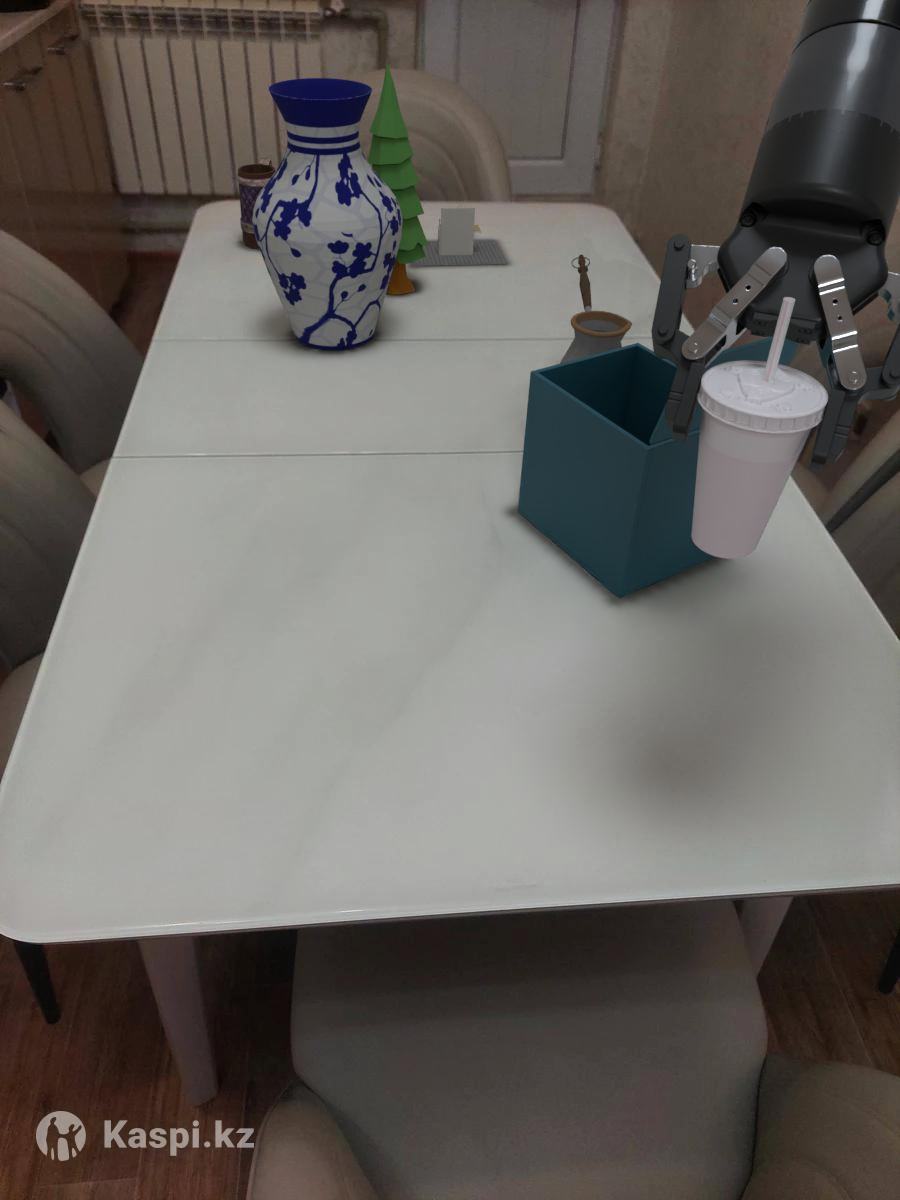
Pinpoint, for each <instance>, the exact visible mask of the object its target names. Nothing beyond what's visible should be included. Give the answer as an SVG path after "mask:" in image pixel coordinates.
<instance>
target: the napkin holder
mask: <svg viewBox="0 0 900 1200" xmlns="http://www.w3.org/2000/svg"><path fill="white" fill-rule="evenodd" d="M440 209H441V210H440V219H438V228H437V241H436V242H437V253H438V254H439V255H440V256H450V255H453V256H455V255H473V254H474V243H475V241H476V240H475V234H482V230H481V228H480V226H479V224H475V220H476V219H475V217H476V207H462V204H458V205H457V207H441V208H440Z"/></svg>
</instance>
